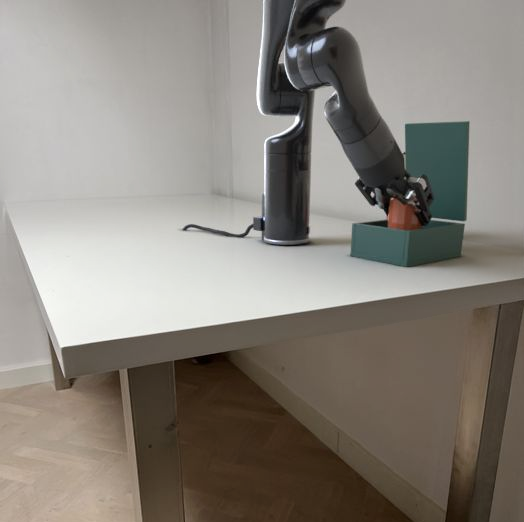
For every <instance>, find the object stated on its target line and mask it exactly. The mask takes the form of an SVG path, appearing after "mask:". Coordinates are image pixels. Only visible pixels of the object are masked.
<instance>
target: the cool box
mask: <svg viewBox="0 0 524 522" xmlns="http://www.w3.org/2000/svg"><path fill="white" fill-rule="evenodd" d="M387 224H388V219H386V218H385V219H380V220H378V219H377V220H370V221H361V222H353V223H352V224H351V238H350V239H351V240H350V253H349V255H350V257H354V258H355V257H356V258H359V259H365V260H369V261H375V262H380V263H384V264H390V265H395V266H399V267H404V268H407V267H413V266H419V265H424V264H428V263H433V262H438V261H442V260H443V261H444V260H449V259H453V258H458V257H461V256H462V251H463V242H464V236H465V235H464V234H465V227H466V224H465V223H464V222H455V221H447V220H446V221H445V220H439V219H437V220H436V219H431V220H430V222H429V223H428V225H427V226H423V229H416V230H409V231H408V230H402V229H394V228H387Z"/></svg>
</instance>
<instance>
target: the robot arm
mask: <svg viewBox="0 0 524 522" xmlns="http://www.w3.org/2000/svg"><path fill="white" fill-rule="evenodd" d="M262 1H263V2H262V3H263V4H262V13H263V14H262V31H261V41H260V52H259V62H258V69H257V70H258V71H257V83H256V103H257V108H258V111H259V112H260V113H261V114H262V115H263V116H268V117H295V120H294V123H293V124H292V125H291V126H290V127H289V128H287V129H286V130H284V131H282V132H280V133H278V134H274V135H271V136H270V137H267V138H266V139H265V141H264V192H263V193H262V194H261V216H253V218H252V219H253V221H252V223H250V225H248V226H247V228H246V230H245V231H244V232H242V233H240V234H239V233H237V234H236V233H232V232H228V231H225V230H219V229H215V228H212V227H206V226H201V225H198V224H194V223H190V224H187V225H185V226H183V228H182V229H181V231H187V230H188V229H190V228H194V229H197V230H200V231H203V232H210V233H213V234H217V235H223V236H226V237H229V238H244V237H246V236H248V235H249V233H250V232H251V230H252V229H253V231H257V232H261V241H263V242H264V243H265V244H270V245H279V246H298V245H305V244H308V243H310V233H311V226H310V219H311V218H310V216H311V183H312V182H311V180H312V179H311V178H312V148H313V147H312V143H313V119H314V107H315V96H316V94H315V93H316V90H320V89H324V88H328V87H329V88H330V87H332V88H333V89H334V92H333V93H332V94H331V95H330V96H329V97H328V98H327V100H326V102H325V104H324V106H323V107H324V108H323V111H324V112H323V114H324V116H325V119H326V122H327V123H328V125H329V126H330V128H331V130H332V131H333V133H334V135H335V136H336V138H337V140H338V141H339V143H340V145H341V148H342V150H343V152H344V154H345V156H346V158H347V159H348V161H349V163H350V164H351V166H352V167H353V169H354V171H355V173H356V175H357V176H358V178H356V181H355V182H354V185H355V187H357V189H358V191H359V192H360V193H361V195H362V196H363V198H364V199H365V200H366V201H367V203H368V204H369V205H370V206H372V207H375V206H378V208H379V209H380V210H382V211H383V212H384V213H385V216H386V215H387V217H388V211H389V199H391V198H396V199H398V200H399V201H400V202H401V203H402V204H403V205H404V206H406V205H408V206H409V207H410V208H411V209H412V210H414V211H415V212H414V213H415V214H416V216H417V218H418V220H419V222H420V223H421V225H422V226H427V225H428V223H429V222H430V220H432V219H433V218H432V214H431V212H430V210H429V207H430V205H431V204H432V202H433V201H434V199H435V198H434V195H433V192H432V189H431V186H430V183H429V180H428V178H427V176H426V175H424V174H422V175H421V176H420V177H419V178H414V177H411V175H410V174H409V173H408V172H407V171H406V170H405V164H404V156H403V152H402V150H401V148H400V147H399V144H398V142H397V140H396V138H395V137H394V135H393V133H392V130H391V129H390V127H389V125H388V124H387V122H386V121H385V119H384V118H383V116H382V115H381V114H380V112H379V109H378V108H377V106H376V104H375V102H374V100H373V98H372V96H371V94H370V92H369V87H368V83H367V77H366V73H365V68H364V62H363V57H362V52H361V48H360V45H359V42H358V41H357V39H356V37H355V36H354V35H353V34H352V33H351V32H350V31H349V30H347V29H346V28H345V27H343V26H338V25H337V26H330V27H328V28H326V26H327V23H328V21H329V20H330V19H331V17H333V16H334V15H335V14H336V13H337V12H339V11H341V9H342V8H343V7H344V6H345V4H346V2H347V0H262ZM282 53H283V54H284V55H283V62H280V59H281V56H282ZM409 189H410V193H409V195H408V196H407V198H405V197H404V196H405V195H406V193H407V192H408V190H409ZM372 194H373V196H372ZM414 197H415V198H416V199H417V200H418V202H417V204H416V203H414V202H413V199H414Z"/></svg>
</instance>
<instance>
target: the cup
mask: <svg viewBox="0 0 524 522" xmlns="http://www.w3.org/2000/svg"><path fill="white" fill-rule="evenodd" d="M413 202H414V203H416V204H417V202H418V200H417V199H416V198H414V199H413ZM414 212H415V211H414V210H412V209H411V208H410V207H409V206H408V205H406V206H404V205H403V204H402V203H401V202H400V201H399V200H398V199H396V198H391V199H389V211H388V224H387V228H394V229H402V230H408V231H409V230H416V229H423V226H422V225H421V223H420V222H419V220H418V218H417V216H416V214H415V213H414Z"/></svg>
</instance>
